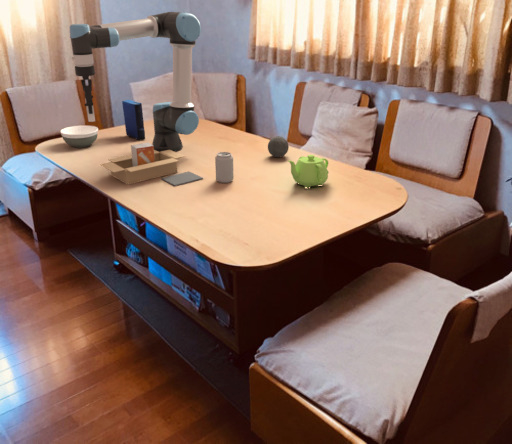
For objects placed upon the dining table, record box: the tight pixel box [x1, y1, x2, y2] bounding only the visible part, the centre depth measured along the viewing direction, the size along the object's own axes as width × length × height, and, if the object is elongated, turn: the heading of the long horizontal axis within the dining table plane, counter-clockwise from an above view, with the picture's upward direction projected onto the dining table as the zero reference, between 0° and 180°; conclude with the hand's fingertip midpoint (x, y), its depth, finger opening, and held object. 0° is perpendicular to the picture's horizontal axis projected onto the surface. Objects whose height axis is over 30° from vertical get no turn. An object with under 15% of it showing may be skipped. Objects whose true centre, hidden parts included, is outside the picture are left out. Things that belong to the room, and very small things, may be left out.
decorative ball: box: [267, 135, 289, 158], centre depth 255 cm, size 10×10×10 cm
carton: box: [99, 150, 186, 185], centre depth 233 cm, size 34×21×6 cm, turn 129°
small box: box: [130, 142, 155, 167], centre depth 232 cm, size 8×6×13 cm
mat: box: [160, 171, 204, 187], centre depth 228 cm, size 14×11×1 cm
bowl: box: [59, 125, 99, 149], centre depth 273 cm, size 19×19×8 cm
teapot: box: [287, 154, 329, 188], centre depth 219 cm, size 16×14×13 cm
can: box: [214, 151, 235, 184], centre depth 224 cm, size 8×8×12 cm
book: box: [121, 99, 146, 141], centre depth 284 cm, size 14×5×20 cm, turn 42°
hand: (91, 117), depth 222 cm, fingers open, 13 cm apart
